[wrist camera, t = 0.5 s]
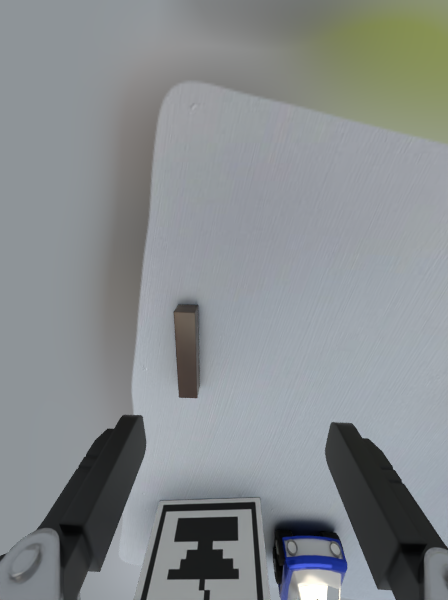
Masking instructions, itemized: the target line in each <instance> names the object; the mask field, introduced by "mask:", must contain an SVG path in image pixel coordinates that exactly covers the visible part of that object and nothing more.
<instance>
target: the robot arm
mask: <svg viewBox="0 0 448 600" xmlns="http://www.w3.org/2000/svg"><path fill="white" fill-rule="evenodd" d="M145 450H146V436H145V429H144V423H143V417H142V416H141V415H123V416H122V417H121V418H120V420H119V421H118V423H117V425H116V427H115V428H114V429H107V430H106V431H105V432H104V433H103V434H101V435H100V436H99V437H98V438H97V439H96V440H95V441H94V443H93V444H92V446H91V448H90V449H89V451H88V452H87V454H86V457H84V459H83V460H82V462H81V463H80V465H79V468H78V469H77V470H76V471H75V473H74V474H73V476H72V477H71V479H70V480H69V482H68V484H67V485H66V487H65V488H64V490H63V491H62V493H61V494H60V496H59V497H58V499H57V501H56V502H55V504H54V505H53V507H52V508H51V510H50V512H49V513H48V515H47V516H46V518H45V519H44V521H43V522H42V523H41V525H40V526H39V527H38V528H37V530H36V531H34V532H32V533H30V534H28V535H27V536H25V537H24V538H23V539H21V540H20V541H19V542H18V543H17V544H16V545H15V546H13V547H12V548H11V549H10V551H9V552H8V553H6V554H4V555H1V556H0V600H80V589H81V587H82V584H83V582H84V579H85V577H86V575H87V572H88V571H95V572H100V570H101V567H102V565H103V562H104V560H105V557H106V554H107V552H108V549H109V546H110V544H111V541H112V538H113V536H114V533H115V531H116V528H117V525H118V523H119V520H120V518H121V515H122V513H123V510H124V507H125V505H126V502H127V500H128V497H129V494H130V492H131V489H132V487H133V484H134V481H135V479H136V476H137V473H138V471H139V468H140V466H141V463H142V460H143V458H144V454H145ZM325 455H326V461H327V464H328V467H329V470H330V472H331V475H332V477H333V480H334V482H335V484H336V487H337V489H338V492H339V494H340V497H341V499H342V502H343V504H344V507H345V509H346V512H347V514H348V517H349V519H350V522H351V524H352V527H353V529H354V532H355V534H356V537H357V539H358V541H359V544H360V546H361V549H362V551H363V554H364V556H365V559H366V561H367V564H368V566H369V569H370V571H371V574H372V576H373V579H374V581H375V584H376V586H377V589H381V590H392V592H393V594H394V597H395V599H396V600H448V548H447V546H446V545H445V544H444V542H443V541H442V540H441V538H440V537H439V535H438V534H437V532H436V531H435V529H434V528H433V526H432V525H431V523H430V522H429V520H428V519H427V517H426V516H425V514H424V513H423V511H422V510H421V508H420V507H419V505H418V504H417V503H416V501H415V500H414V498H413V497H412V495H411V494H410V492H409V491H408V489H407V488H406V486H405V485H404V484H403V483H402V480H401V479H400V477H399V476H398V474H397V473H396V471H395V470H393V467H392V465H391V464H390V462H389V461H388V459H387V458H386V456H385V455H384V453H383V452H382V451H381V450H380V449H379V448H378V447H377V446H376V445H375V444H374V443H373V442H371V441H370V440H369V439H365V438H362V437H361V436H360V434H359V432H358V431H357V429H356V428H355V426H354V425H353V424H352V423H335V422H332V423H331V425H330V429H329V433H328V438H327V443H326V448H325Z"/></svg>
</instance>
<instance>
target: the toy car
mask: <svg viewBox="0 0 448 600" xmlns="http://www.w3.org/2000/svg"><path fill="white" fill-rule="evenodd" d="M275 543H276V548H274V549H273V563H274V573H275V579H276V582H277V584H278V587H279V594H280V598H281V600H341V599H340V598H341V585H342V582H343V579H344V576H345V573H346V570H347V562H346V559H345V556H344V551H343V547H342V544H341V541H340V539H339V537H338V535H337V534H336V533H331V532H320V534H319V536H293V535H292V532H291V531H283V530H276V532H275Z"/></svg>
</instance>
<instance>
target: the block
mask: <svg viewBox="0 0 448 600" xmlns="http://www.w3.org/2000/svg"><path fill="white" fill-rule="evenodd" d="M134 600H270V591H269V581H268V571H267V561H266V551H265V542H264V532H263V522H262V512H261V502H260V498H232V499H202V500H171V501H159V505H158V508H157V512H156V516H155V520H154V524H153V527H152V531H151V535H150V539H149V543H148V547H147V550H146V554H145V558H144V562H143V566H142V569H141V574H140V577H139V581H138V585H137V589H136V592H135V596H134Z"/></svg>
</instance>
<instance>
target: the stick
mask: <svg viewBox="0 0 448 600" xmlns="http://www.w3.org/2000/svg"><path fill="white" fill-rule="evenodd" d="M174 324H175V340H176V356H177V373H178V389H179V397H180V398H197V397H198V392H199V387H200V369H199V321H198V305H178V306H177V308H176V309H175V311H174Z"/></svg>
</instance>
